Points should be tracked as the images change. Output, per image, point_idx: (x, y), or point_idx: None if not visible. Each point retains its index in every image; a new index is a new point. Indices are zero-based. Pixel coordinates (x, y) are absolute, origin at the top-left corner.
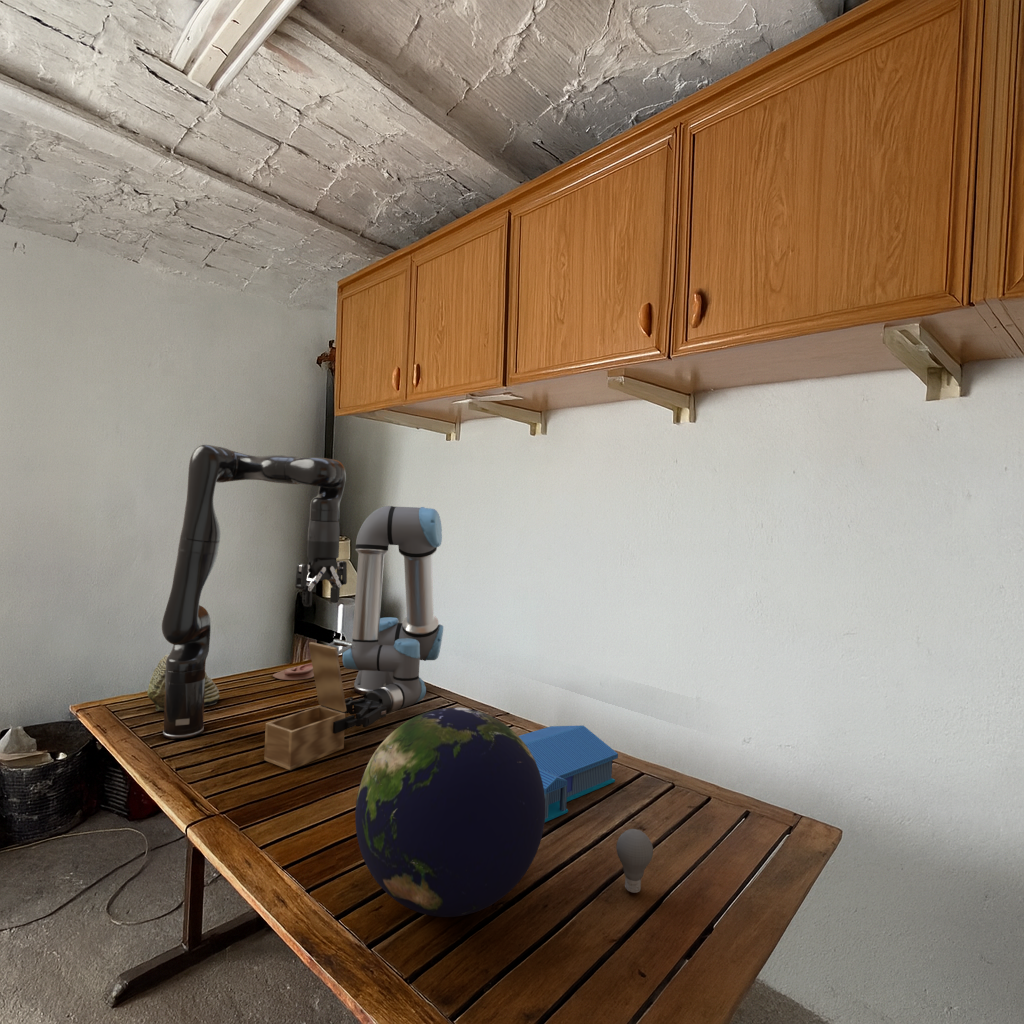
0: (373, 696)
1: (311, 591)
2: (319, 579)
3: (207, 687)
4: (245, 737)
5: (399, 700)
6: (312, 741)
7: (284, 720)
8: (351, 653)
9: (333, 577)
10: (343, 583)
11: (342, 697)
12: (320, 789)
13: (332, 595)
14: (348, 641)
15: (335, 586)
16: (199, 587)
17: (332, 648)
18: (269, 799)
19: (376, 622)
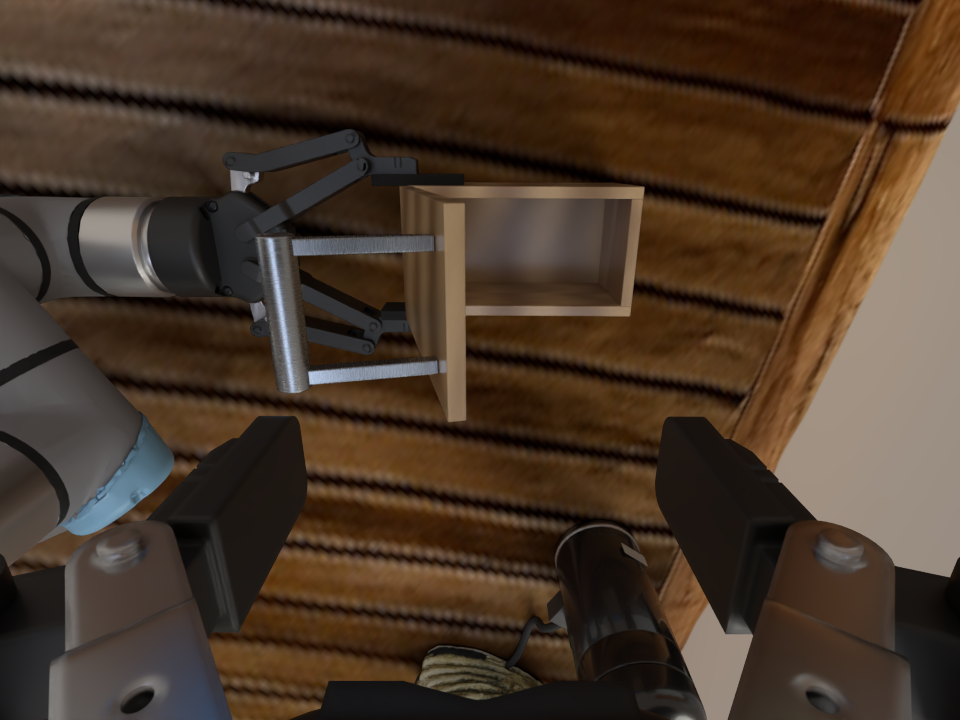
0: (208, 250)
1: (763, 523)
2: (745, 669)
3: (453, 691)
4: (529, 439)
5: (121, 197)
6: (546, 184)
7: (566, 303)
8: (125, 460)
9: (224, 696)
10: (1, 570)
11: (416, 188)
12: (657, 9)
13: (277, 515)
14: (270, 288)
15: (196, 576)
16: None
17: (462, 223)
18: (766, 80)
19: None
